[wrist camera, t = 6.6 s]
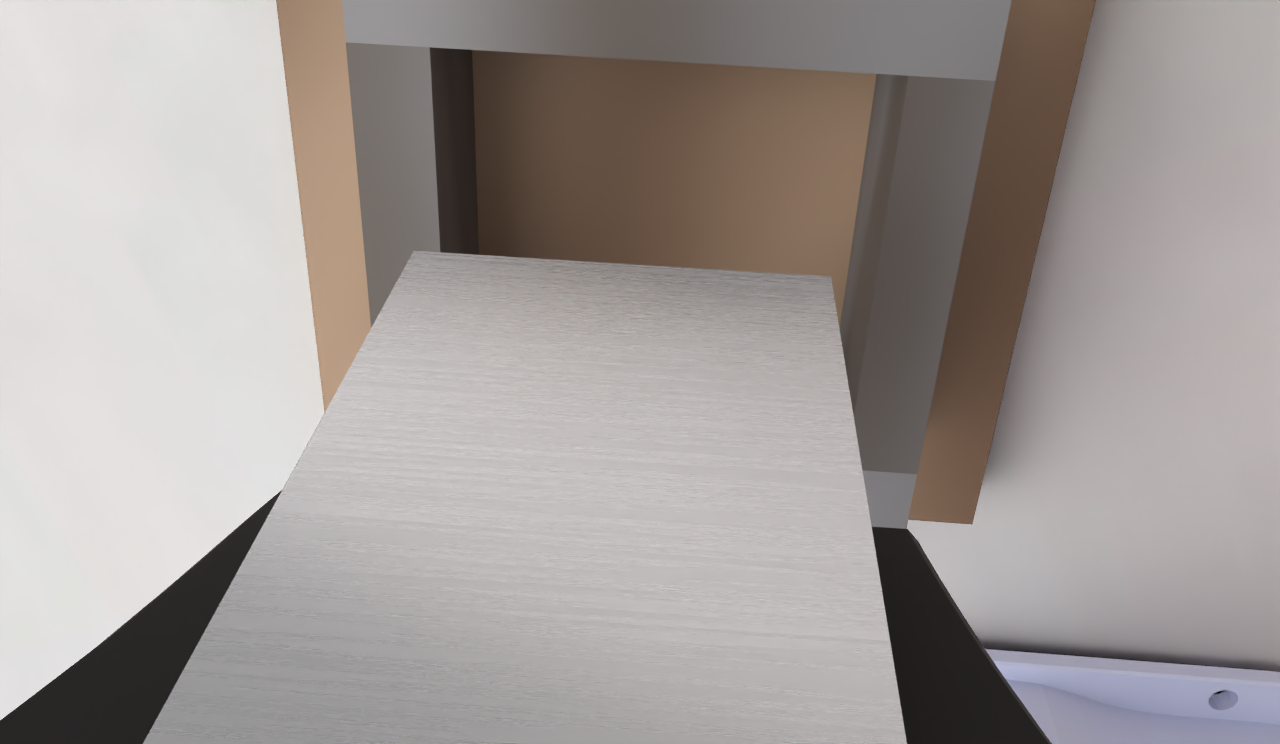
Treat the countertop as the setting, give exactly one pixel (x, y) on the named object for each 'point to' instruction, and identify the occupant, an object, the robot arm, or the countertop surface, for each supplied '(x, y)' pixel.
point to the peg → (565, 526)
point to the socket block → (709, 174)
